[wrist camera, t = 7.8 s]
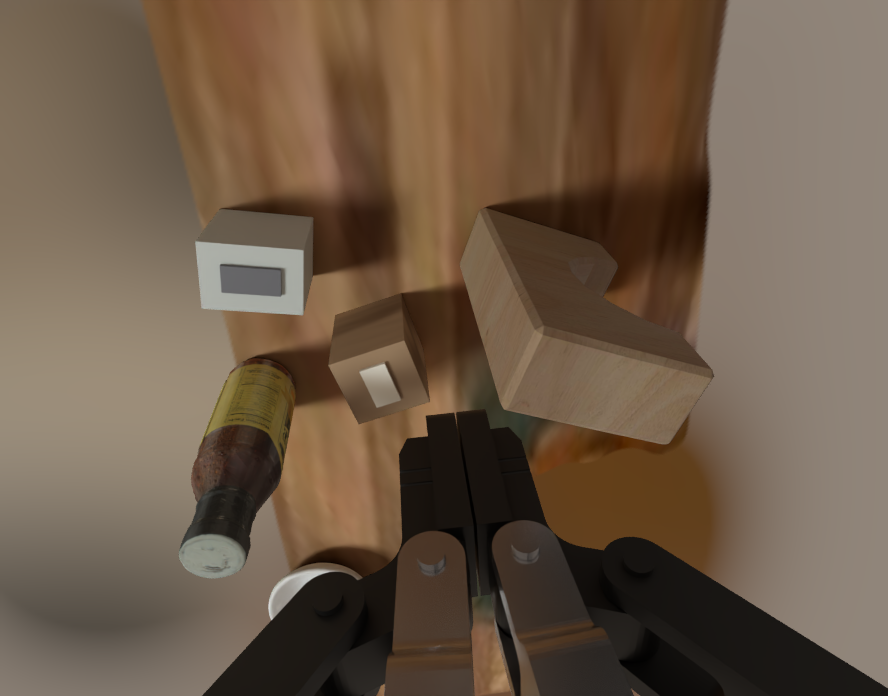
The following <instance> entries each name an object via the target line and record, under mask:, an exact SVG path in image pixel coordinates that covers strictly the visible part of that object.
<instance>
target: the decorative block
mask: <svg viewBox="0 0 888 696" xmlns="http://www.w3.org/2000/svg"><path fill="white" fill-rule="evenodd" d="M460 268H461V271H462V274H463V278H464V281H465V284H466V288H467V291H468V294H469V298H470V301H471V305H472V308H473V311H474V315H475V318H476V322H477V325H478V328H479V332H480V335H481V338H482V342H483V345H484V348H485V351H486V355H487V358H488V362H489V365H490V368H491V372H492V375H493V379H494V382H495V385H496V389H497V392H498V396H499V399H500V403H501V405H502V406H503V408H504V410H508V411H513V412H517V413H522V414H526V415H531V416H535V417H540V418H544V419H549V420H553V421H558V422H562V423H567V424H571V425H576V426H580V427H585V428H589V429H594V430H599V431H603V432H608V433H612V434H617V435H622V436H626V437H631V438H636V439H640V440H645V441H650V442H654V443H659V444H669V443H670V441H671V440H672V439H673V437H674V436H675V434H676V433H677V431H678V430H679V428H680V427H681V425H682V424H683V422H684V421H685V419H686V418H687V416H688V415H689V413H690V412H691V410H692V409H693V407H694V406H695V404H696V403H697V401H698V400H699V398H700V397H701V395H702V394H703V392H704V391H705V389H706V388H707V386H708V385H709V383H710V382H711V380H712V379H713V377H714V375H713V371H712V369H711V368H710V367H709V366H708V365H707V363H706V362H705V361H704V360H703V359H702V358H701V357H700V356H699V355H698V353H697V352H696V351H695V350H694V349H693V348H692V347H691V345H690V344H689V343H688V342H687V341H686V340H685V339H684V338H683V336H682V335H681V334H680V333H679V332H676V331H673V330H670V329H668V328H665V327H662V326H659V325H657V324H654V323H651V322H648V321H646V320H644V319H642V318H640V317H638V316H636V315H634V314H632V313H630V312H628V311H626V310H624V309H622V308H620V307H618V306H616V305H614V304H612V303H611V302H609V301H608V300H606V299H605V298H603V296H604V294H605V292H606V290H607V288H608V286H609V284H610V282H611V280H612V278H613V277H614V275H615V273H616V271H617V269H618V265H617V262H616V261H615V260H614V259H613V258H612V257H611V256H610V254H609V253H608V252H607V251H606V250H605V249H604V248H603V247H602V246H601V244H600V243H598V242H595V241H591V240H588V239H585V238H582V237H578V236H575V235H572V234H569V233H566V232H562V231H559V230H556V229H553V228H549V227H546V226H543V225H540V224H536V223H533V222H530V221H527V220H523V219H520V218H517V217H514V216H510V215H507V214H504V213H501V212H497V211H494V210H491V209H488V208H484V209H482V210H480V211H479V213H478V216H477V219H476V221H475V224H474V227H473V229H472V232H471V235H470V237H469V240H468V243H467V246H466V248H465V251H464V254H463V256H462V259H461V262H460Z"/></svg>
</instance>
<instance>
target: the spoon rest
mask: <svg viewBox="0 0 888 696" xmlns="http://www.w3.org/2000/svg"><path fill="white" fill-rule="evenodd" d="M328 572H344V573H347V574H350V575H352V576H353V577H355V578H356V579H357V580H359V579H362V577H361V576H360V575H359V574H358V573H356V572H355V571H353V570H351V569H350V568H347V567H345V566H342V565H338V564H334V563H314V564H309V565H306V566H302V567H300V568H298V569H296V570H294V571H292V572H290V573H289V574H287V575H286V576H285V577H284V578H282V579H281V580H280V581H279V582H278V583H277V585H276V586H275V587H274V589H273V591H272V593H271V596H270V599H269V606H268V607H269V615H270V618H271V620H272V619H273V618H274V617H275V616H276V615H277V614H278V613H279V612H280V611H281V610H282V608H283V607H284V606H285V605H286V604H287V603H288V602H289V601H290V600H291V599H292V598H293V596H294V595H295V594H296V593H297V592H298V591H299V590H300V589H301V588H302V587H303V586H304V585H305V584H306V583H307V582H308V581H310V580H311V579H312V578H314V577H316V576H318V575H321V574H323V573H328Z"/></svg>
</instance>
